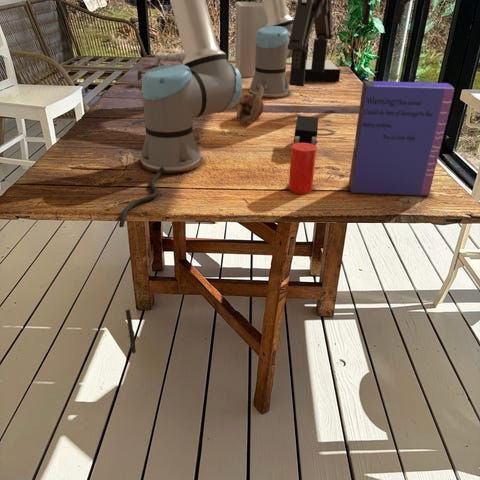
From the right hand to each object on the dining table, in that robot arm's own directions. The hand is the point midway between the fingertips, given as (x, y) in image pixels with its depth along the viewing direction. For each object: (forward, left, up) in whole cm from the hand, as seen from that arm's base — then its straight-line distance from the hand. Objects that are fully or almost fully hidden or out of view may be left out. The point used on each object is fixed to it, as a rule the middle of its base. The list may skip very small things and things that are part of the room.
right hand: (381, 24), depth 171 cm
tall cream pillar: (-52, -28, -26) cm, 65 cm away
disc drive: (-38, -4, -26) cm, 46 cm away
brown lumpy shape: (+15, -57, -26) cm, 64 cm away
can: (+67, -64, -26) cm, 96 cm away
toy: (-72, -53, -26) cm, 93 cm away
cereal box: (+75, -45, -26) cm, 91 cm away
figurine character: (+44, -51, -26) cm, 72 cm away
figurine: (-41, -67, -26) cm, 82 cm away
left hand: (+67, -64, -1) cm, 93 cm away
